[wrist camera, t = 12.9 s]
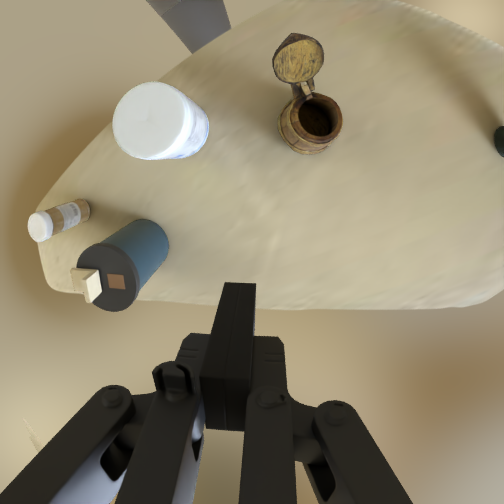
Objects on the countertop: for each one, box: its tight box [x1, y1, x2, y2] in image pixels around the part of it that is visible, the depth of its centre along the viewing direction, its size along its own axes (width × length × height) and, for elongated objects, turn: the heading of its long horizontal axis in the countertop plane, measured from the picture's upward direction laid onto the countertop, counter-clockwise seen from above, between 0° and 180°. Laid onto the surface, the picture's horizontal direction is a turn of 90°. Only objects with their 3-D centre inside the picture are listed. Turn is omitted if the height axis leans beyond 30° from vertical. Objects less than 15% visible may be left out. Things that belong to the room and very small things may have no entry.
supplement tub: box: [112, 82, 209, 160], centre depth 37 cm, size 10×10×15 cm
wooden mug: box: [272, 33, 343, 154], centre depth 33 cm, size 9×14×18 cm, turn 24°
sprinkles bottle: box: [28, 199, 90, 242], centre depth 42 cm, size 5×5×13 cm
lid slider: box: [70, 268, 102, 303], centre depth 34 cm, size 4×3×3 cm
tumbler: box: [76, 219, 169, 312], centre depth 43 cm, size 10×10×15 cm
